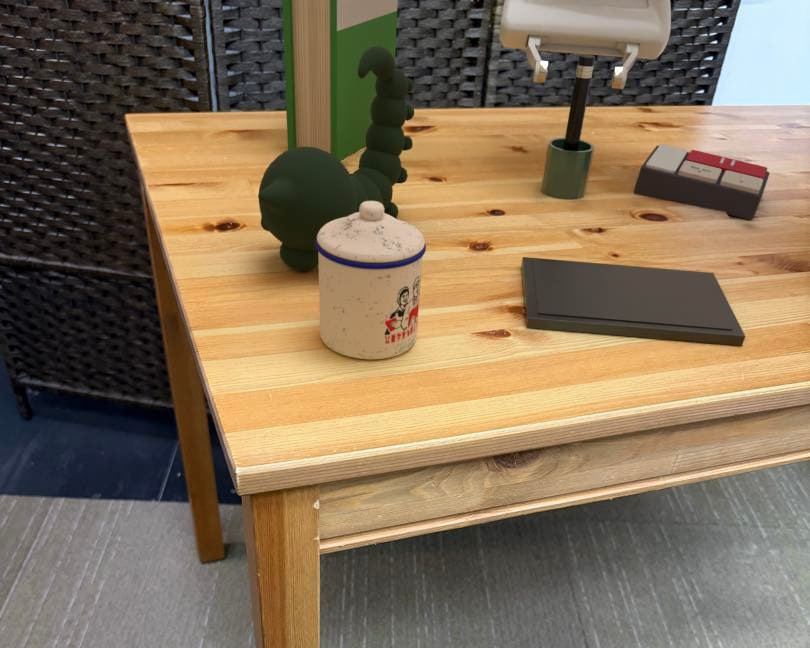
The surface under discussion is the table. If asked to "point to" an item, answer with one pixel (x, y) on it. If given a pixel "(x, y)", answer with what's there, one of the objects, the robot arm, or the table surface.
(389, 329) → the teacup with lid
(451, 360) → the table surface
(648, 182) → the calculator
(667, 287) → the tablet
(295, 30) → the hardback book
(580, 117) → the stylus
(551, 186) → the pen cup
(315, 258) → the toy figurine
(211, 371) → the table surface
